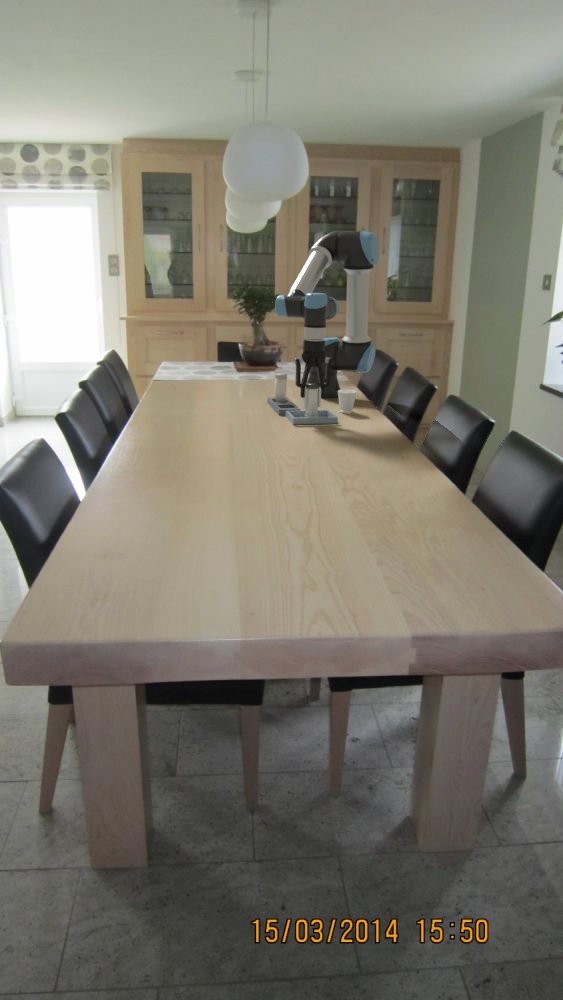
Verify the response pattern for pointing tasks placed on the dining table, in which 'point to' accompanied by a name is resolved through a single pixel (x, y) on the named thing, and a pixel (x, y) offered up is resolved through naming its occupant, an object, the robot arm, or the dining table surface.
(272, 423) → the dining table surface
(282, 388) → the cylinder
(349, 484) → the dining table surface
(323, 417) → the parts tray
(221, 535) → the dining table surface
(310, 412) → the cylinder
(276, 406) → the fuse strip
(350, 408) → the cup
